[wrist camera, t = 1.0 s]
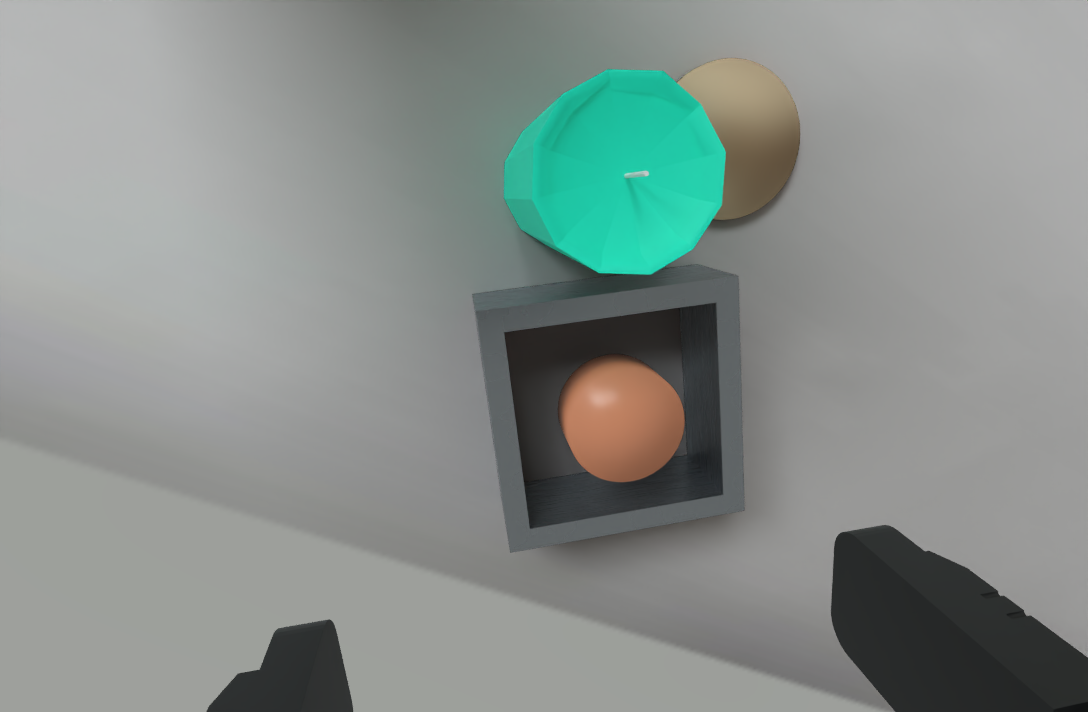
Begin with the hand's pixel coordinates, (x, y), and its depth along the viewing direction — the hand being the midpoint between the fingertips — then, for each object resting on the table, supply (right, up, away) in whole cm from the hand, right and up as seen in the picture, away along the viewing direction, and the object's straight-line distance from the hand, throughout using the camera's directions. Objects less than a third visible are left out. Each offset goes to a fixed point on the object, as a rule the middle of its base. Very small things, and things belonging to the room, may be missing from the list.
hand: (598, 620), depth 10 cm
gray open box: (+2, +3, +21) cm, 21 cm away
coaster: (+7, +14, +19) cm, 25 cm away
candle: (0, +12, +19) cm, 22 cm away
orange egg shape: (+2, +2, +18) cm, 19 cm away
